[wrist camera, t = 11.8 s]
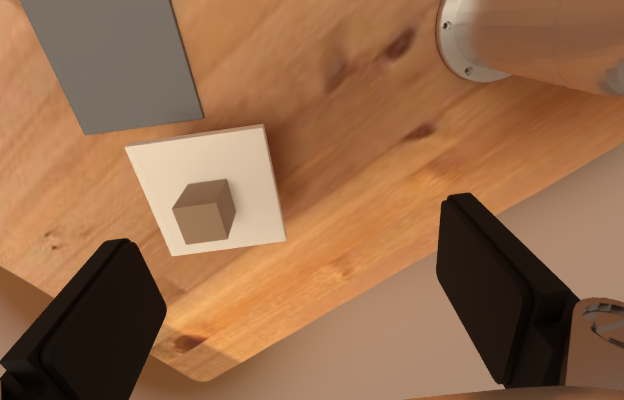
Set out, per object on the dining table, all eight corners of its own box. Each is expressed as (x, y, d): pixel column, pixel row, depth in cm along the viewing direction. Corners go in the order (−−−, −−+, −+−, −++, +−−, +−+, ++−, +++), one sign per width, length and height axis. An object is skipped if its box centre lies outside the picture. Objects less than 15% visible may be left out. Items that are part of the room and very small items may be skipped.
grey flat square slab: (162, -27, 31) (160, -28, 30) (204, 117, 38) (203, 118, 37) (21, -6, 31) (16, -7, 31) (87, 133, 38) (84, 135, 37)
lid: (263, 123, 28) (257, 145, 23) (286, 234, 34) (285, 270, 29) (130, 142, 29) (96, 167, 24) (175, 249, 34) (155, 287, 29)
